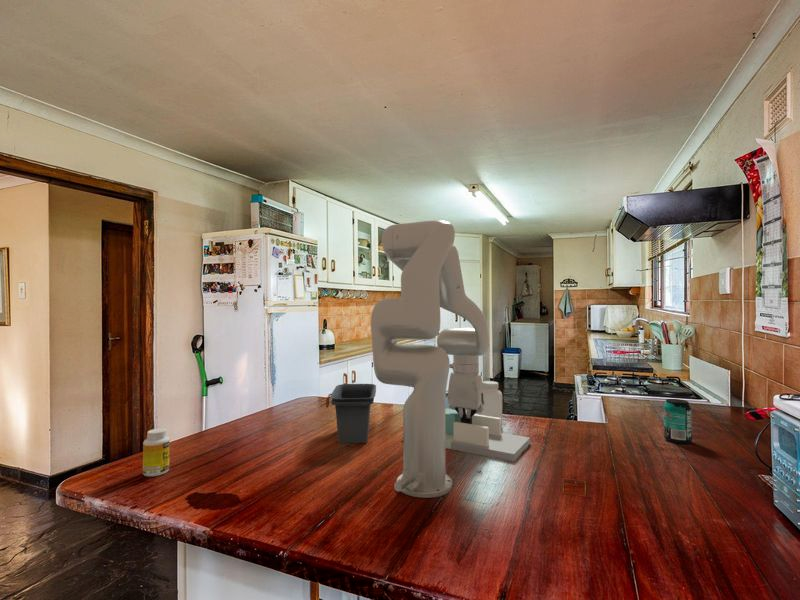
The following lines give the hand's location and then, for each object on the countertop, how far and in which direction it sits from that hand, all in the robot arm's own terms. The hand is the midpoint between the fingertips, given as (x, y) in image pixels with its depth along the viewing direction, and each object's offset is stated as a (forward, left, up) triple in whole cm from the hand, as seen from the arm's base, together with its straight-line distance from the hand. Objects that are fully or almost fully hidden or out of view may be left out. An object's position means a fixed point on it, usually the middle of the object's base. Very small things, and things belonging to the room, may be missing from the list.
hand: (466, 430), depth 123 cm
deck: (0, 0, -4) cm, 4 cm away
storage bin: (-13, +33, -4) cm, 36 cm away
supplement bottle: (-61, +55, -4) cm, 83 cm away
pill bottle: (+19, -1, -4) cm, 19 cm away
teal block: (+1, +6, -1) cm, 6 cm away
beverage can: (+35, -54, -4) cm, 64 cm away
